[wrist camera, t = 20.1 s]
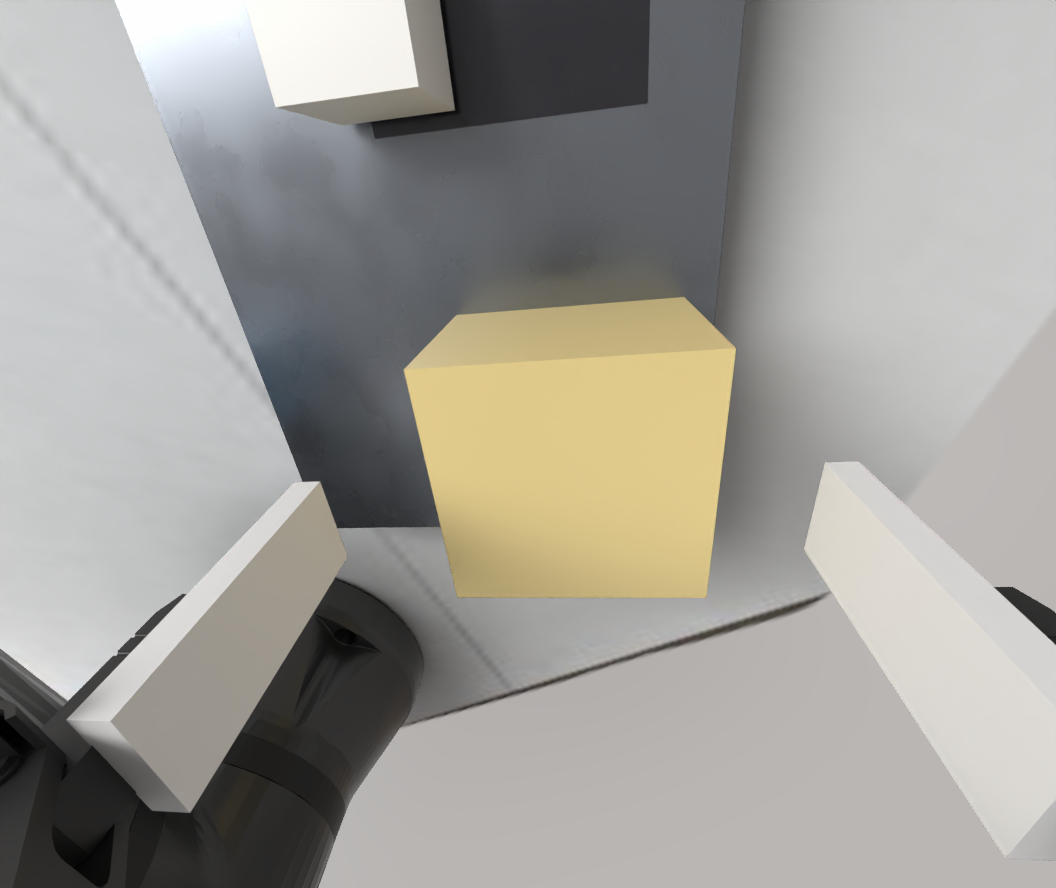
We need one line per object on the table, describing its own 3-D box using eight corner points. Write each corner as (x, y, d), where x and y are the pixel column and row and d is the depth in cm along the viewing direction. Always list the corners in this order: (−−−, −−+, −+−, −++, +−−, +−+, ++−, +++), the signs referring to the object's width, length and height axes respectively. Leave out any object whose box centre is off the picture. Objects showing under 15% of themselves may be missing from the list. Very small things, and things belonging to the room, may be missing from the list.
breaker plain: (454, 110, 14) (418, 86, 11) (342, 125, 14) (275, 107, 11) (428, -79, 12) (374, -175, 9) (300, -54, 12) (205, -137, 9)
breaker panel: (682, 484, 23) (695, 522, 21) (347, 493, 26) (320, 528, 23) (735, -228, 12) (777, -341, 10) (145, -100, 15) (50, -164, 12)
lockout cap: (672, 491, 20) (706, 598, 15) (487, 496, 21) (457, 597, 16) (684, 297, 16) (736, 348, 11) (456, 315, 17) (403, 369, 12)
